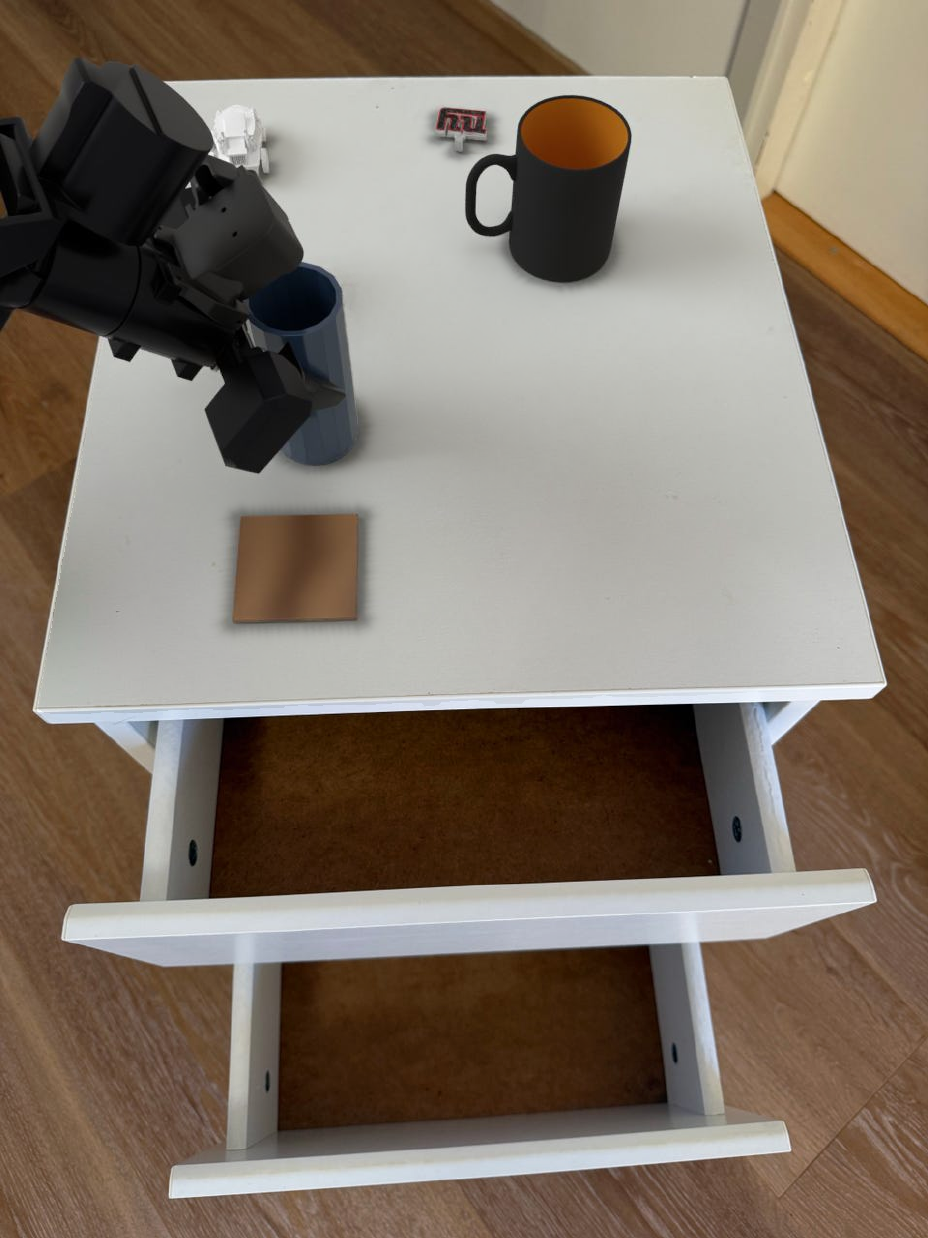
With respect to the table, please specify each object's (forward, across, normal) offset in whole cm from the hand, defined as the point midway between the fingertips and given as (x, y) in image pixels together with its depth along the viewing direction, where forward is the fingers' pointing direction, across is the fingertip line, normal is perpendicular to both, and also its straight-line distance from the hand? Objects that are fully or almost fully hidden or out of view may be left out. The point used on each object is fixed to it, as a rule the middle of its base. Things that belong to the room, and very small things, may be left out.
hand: (325, 363), depth 65 cm
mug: (+20, +11, -10) cm, 25 cm away
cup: (+4, 0, +6) cm, 7 cm away
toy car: (+6, +30, +3) cm, 31 cm away
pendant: (+20, +26, -10) cm, 34 cm away
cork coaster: (0, -10, +9) cm, 14 cm away
